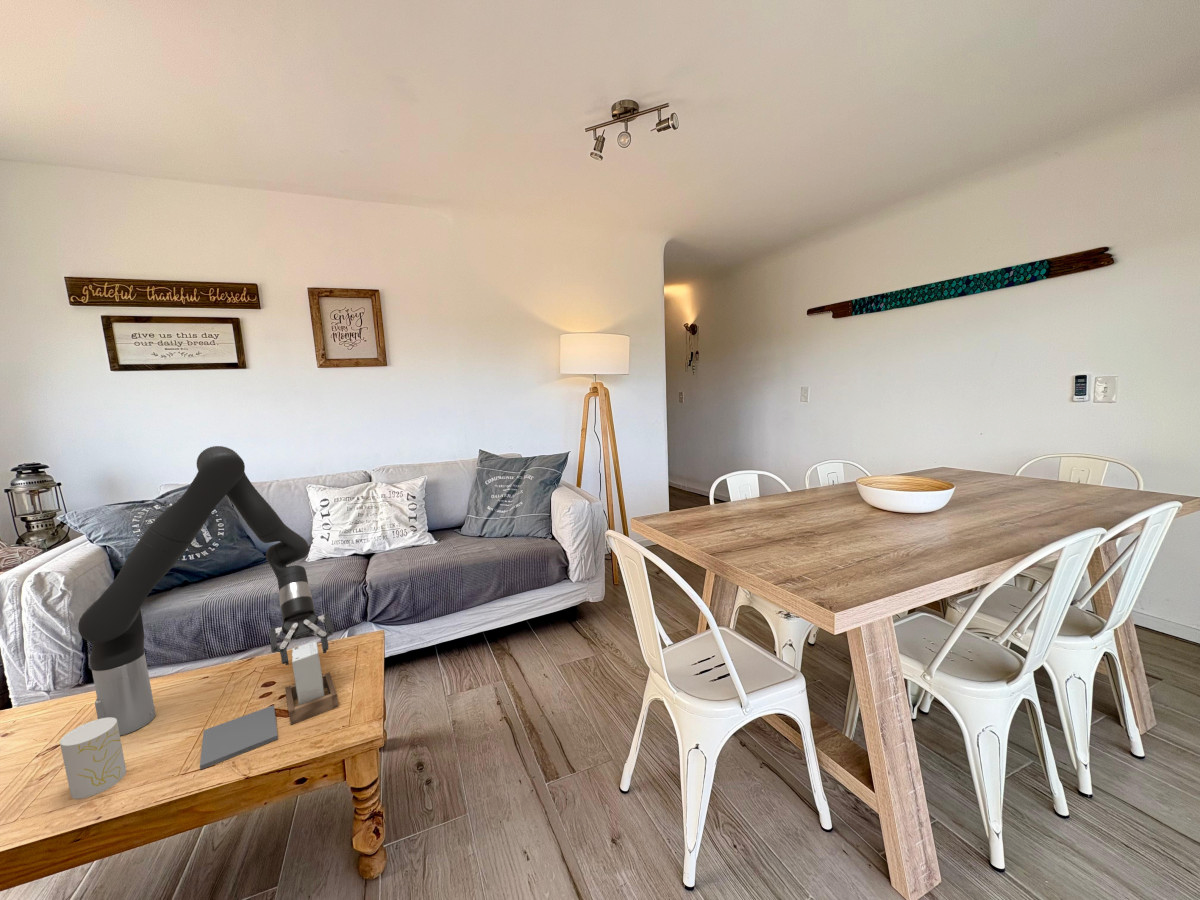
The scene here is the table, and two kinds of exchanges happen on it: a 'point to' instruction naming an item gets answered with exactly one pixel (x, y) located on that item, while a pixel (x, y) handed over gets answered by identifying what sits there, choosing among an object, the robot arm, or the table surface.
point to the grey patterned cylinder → (93, 757)
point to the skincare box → (307, 673)
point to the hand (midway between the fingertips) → (306, 657)
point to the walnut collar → (311, 702)
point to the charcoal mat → (238, 736)
